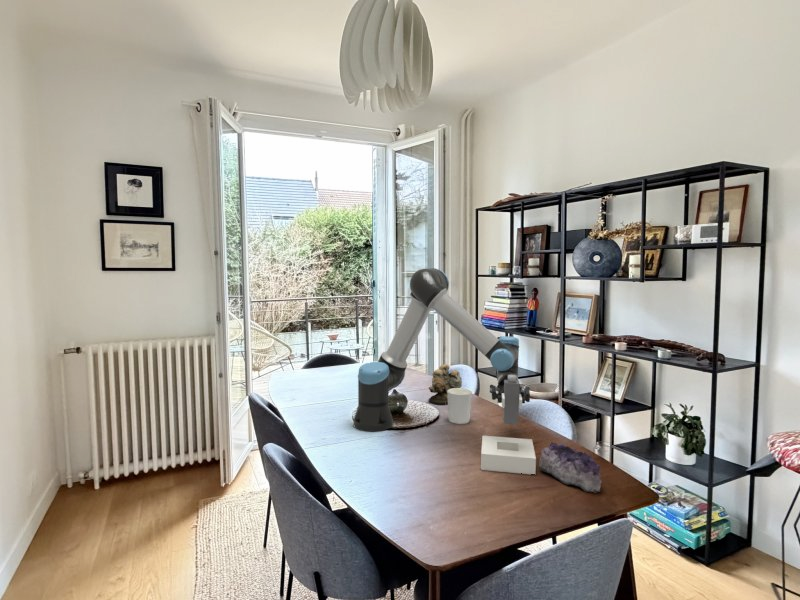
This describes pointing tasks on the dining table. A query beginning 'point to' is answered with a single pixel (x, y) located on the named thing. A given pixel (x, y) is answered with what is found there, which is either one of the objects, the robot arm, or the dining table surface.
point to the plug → (511, 400)
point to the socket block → (508, 455)
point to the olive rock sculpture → (443, 384)
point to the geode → (571, 467)
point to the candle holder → (459, 405)
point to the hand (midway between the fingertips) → (512, 403)
